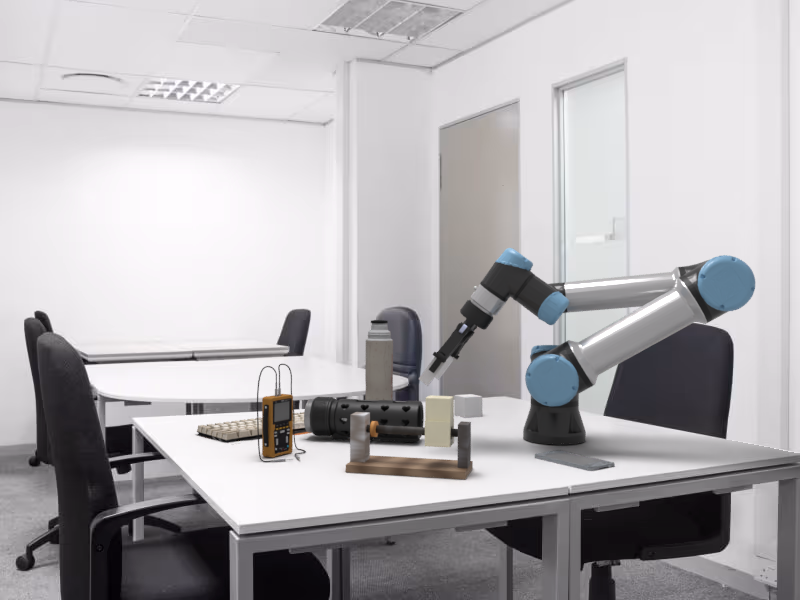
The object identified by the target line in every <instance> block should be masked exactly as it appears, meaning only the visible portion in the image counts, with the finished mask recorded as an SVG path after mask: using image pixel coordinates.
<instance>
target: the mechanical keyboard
mask: <svg viewBox="0 0 800 600" xmlns="http://www.w3.org/2000/svg"><path fill="white" fill-rule="evenodd" d="M258 422H259V440H262V416H261V417H258ZM196 429H197V430H196V433H197V434H195V436H198V437H202V438H205V439H208V440H213V441H219V442H224V443H231V445H232V446H233V442H237V444H240V442H244V441H245V442H246V441H256V440H257V441H258V430H257V417H256V418H247V419H239V420H232V421H226V422H225V421H224V422H223V423H222V422H216V423H214V424H213V423H209V424H206V425H205V424H200V425H198V426H197V428H196ZM292 433H293V432H292ZM294 433H295V436H300V435H307V434H308V435H309V433H308V432H307V431H306V429H305V425H304V411H303V412H301V411H300V412H294ZM294 433H293V436H294ZM238 442H239V443H238Z"/></svg>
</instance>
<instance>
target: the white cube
mask: <svg viewBox="0 0 800 600" xmlns="http://www.w3.org/2000/svg"><path fill="white" fill-rule="evenodd" d="M453 396H454V416H456V417H459V416H460V418H463V419H467V418H468V419H470V418H471V419H472V418H482V417H483V396H482V395H477V394H472V393H468V394H454V395H453Z"/></svg>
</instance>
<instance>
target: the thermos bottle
mask: <svg viewBox="0 0 800 600" xmlns="http://www.w3.org/2000/svg"><path fill="white" fill-rule="evenodd" d="M370 324H371V325H370V330H369V331H367V338H366V339H365V374H364V375H365V397H364V398H365V399H364V400H393V399H394V397H393V396H394V395H393V391H394V387H393V386H394V382H393V381H394V380H393V376H394V339H392V334H391V333H392V332H391V330H389V326H388V320H385V319H374V320H370ZM393 401H394V400H393Z"/></svg>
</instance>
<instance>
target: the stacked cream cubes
mask: <svg viewBox="0 0 800 600" xmlns="http://www.w3.org/2000/svg"><path fill="white" fill-rule="evenodd" d="M424 401H425V406H424V407H425V410H424V411H425V413H424V416H425V417H424V420H425V421H424V427H425V435H424V447H432V448H451V447H452V446H453V444H454V442H455V437H451V429H455V418H454V416H455V415H454V395H453V396H452V395H451V396H449V395H428V396H426V397H425V400H424Z"/></svg>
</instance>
